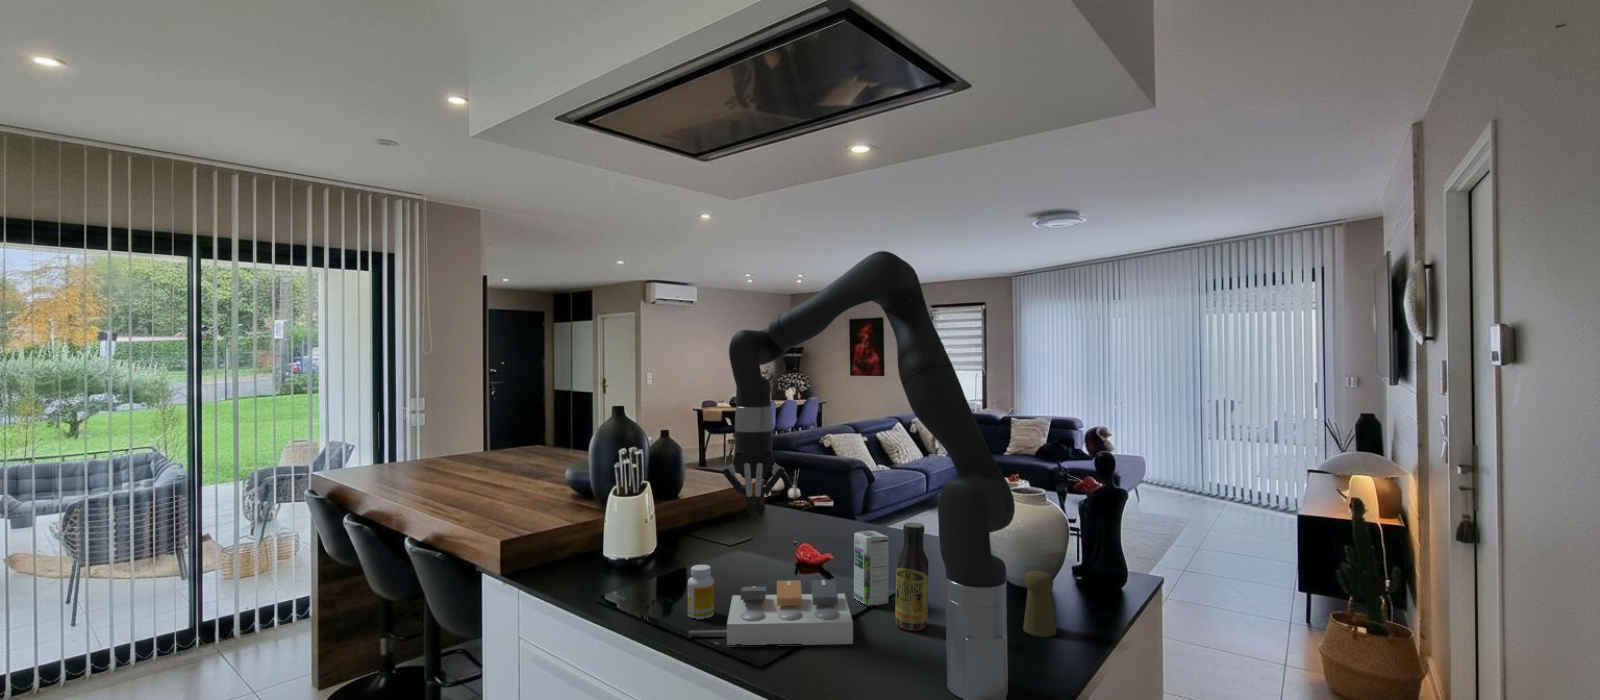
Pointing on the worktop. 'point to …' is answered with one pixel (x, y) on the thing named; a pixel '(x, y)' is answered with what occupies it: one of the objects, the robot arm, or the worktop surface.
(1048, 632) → the yellow pepper mill
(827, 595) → the block
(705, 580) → the supplement bottle
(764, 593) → the block
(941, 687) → the worktop surface
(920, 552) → the sauce bottle
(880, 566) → the syrup box
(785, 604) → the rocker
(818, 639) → the power strip
